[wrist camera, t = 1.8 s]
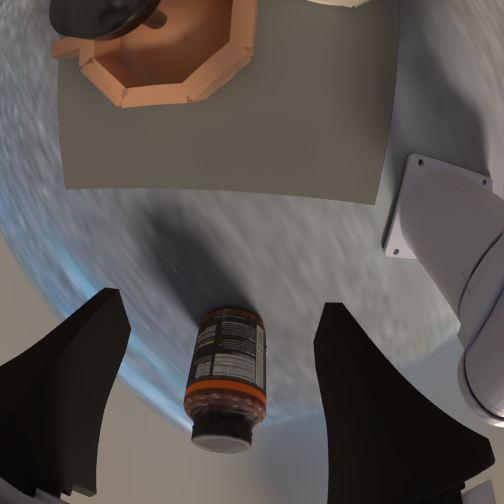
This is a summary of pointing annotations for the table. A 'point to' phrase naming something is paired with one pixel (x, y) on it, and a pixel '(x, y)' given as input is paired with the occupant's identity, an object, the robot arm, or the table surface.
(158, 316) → the table surface
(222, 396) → the supplement bottle
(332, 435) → the robot arm
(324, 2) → the cream pot
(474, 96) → the table surface
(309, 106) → the slate board
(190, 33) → the terracotta pot
